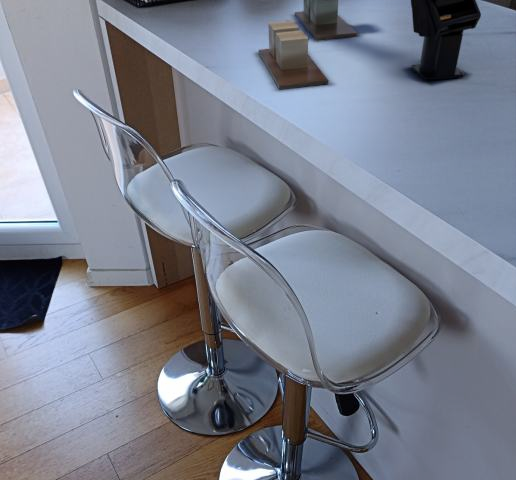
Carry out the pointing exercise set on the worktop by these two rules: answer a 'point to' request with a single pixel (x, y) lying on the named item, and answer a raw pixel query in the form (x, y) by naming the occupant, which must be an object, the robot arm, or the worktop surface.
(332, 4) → the dark wooden base plate
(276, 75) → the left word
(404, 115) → the worktop surface
